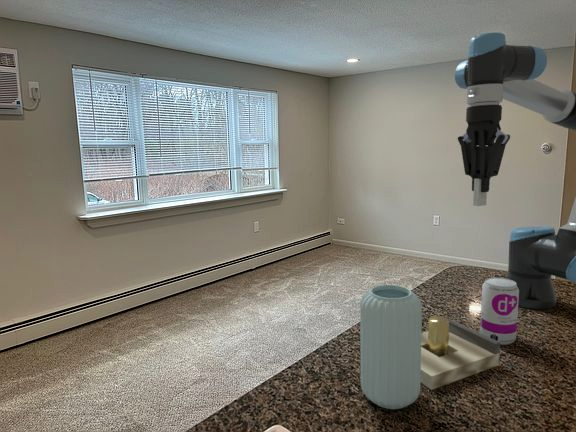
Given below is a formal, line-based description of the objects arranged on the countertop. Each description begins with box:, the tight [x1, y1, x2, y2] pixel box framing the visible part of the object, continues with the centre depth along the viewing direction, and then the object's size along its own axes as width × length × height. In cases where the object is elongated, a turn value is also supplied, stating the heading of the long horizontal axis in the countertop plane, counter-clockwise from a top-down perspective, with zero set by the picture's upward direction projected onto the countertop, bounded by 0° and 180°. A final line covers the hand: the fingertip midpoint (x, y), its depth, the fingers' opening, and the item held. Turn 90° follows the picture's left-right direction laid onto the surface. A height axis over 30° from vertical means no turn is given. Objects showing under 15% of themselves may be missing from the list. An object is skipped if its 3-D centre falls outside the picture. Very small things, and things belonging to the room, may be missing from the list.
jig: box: [420, 316, 501, 391], centre depth 97 cm, size 20×16×6 cm
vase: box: [359, 284, 423, 410], centre depth 82 cm, size 12×12×22 cm
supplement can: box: [479, 277, 519, 346], centre depth 106 cm, size 8×8×15 cm
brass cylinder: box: [427, 315, 449, 357], centre depth 96 cm, size 4×4×10 cm
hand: (479, 205), depth 102 cm, fingers closed
